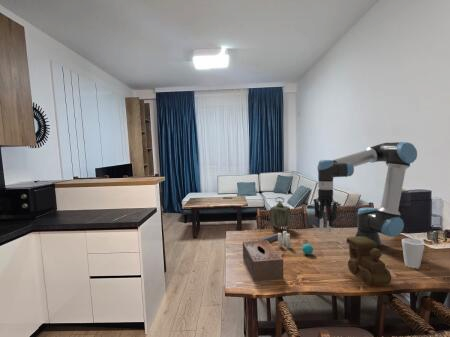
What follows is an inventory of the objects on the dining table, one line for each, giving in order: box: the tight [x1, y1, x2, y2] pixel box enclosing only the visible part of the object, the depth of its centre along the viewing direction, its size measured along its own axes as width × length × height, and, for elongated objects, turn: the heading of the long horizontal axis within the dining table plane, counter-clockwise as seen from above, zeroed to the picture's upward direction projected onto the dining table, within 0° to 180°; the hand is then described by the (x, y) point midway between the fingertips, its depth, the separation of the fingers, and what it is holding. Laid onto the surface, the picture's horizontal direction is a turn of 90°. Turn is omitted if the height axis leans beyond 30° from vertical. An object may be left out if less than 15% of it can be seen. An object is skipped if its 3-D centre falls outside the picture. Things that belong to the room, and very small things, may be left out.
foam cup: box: [401, 237, 425, 269], centre depth 134 cm, size 10×9×13 cm
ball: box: [301, 243, 314, 256], centre depth 151 cm, size 6×6×6 cm
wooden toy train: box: [346, 236, 392, 286], centre depth 123 cm, size 20×11×17 cm, turn 6°
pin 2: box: [282, 230, 288, 246], centre depth 167 cm, size 2×2×8 cm
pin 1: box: [277, 232, 283, 248], centre depth 164 cm, size 2×2×8 cm
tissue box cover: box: [242, 240, 284, 282], centre depth 136 cm, size 26×14×10 cm, turn 8°
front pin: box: [285, 233, 291, 249], centre depth 162 cm, size 2×2×8 cm
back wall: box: [257, 232, 279, 243], centre depth 174 cm, size 2×20×3 cm, turn 129°
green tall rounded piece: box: [268, 196, 292, 231], centre depth 196 cm, size 14×9×25 cm, turn 58°
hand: (325, 230), depth 142 cm, fingers open, 4 cm apart
